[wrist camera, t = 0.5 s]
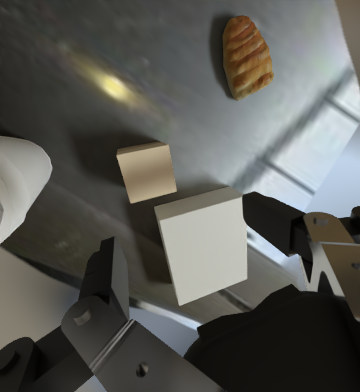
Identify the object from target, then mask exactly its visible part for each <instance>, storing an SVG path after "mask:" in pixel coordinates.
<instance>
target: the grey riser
mask: <svg viewBox="0 0 360 392" xmlns="http://www.w3.org/2000/svg"><path fill="white" fill-rule="evenodd" d="M243 195H244V194H242V193H241V192H239V191H237V190H235V189H233V188H232V187H230V186H228V187H225V188H221V189H217V190H214V191H210V192H206V193H202V194H199V195H195V196H191V197H188V198H184V199H180V200H177V201H173V202H169V203H166V204H162V205H158V206H155V207H154V210H155V214H156V218H157V222H158V226H159V230H160V234H161V239H162V243H163V247H164V251H165V255H166V259H167V263H168V268H169V272H170V276H171V280H172V284H173V287H174V290H175V294H176V297H177V300H178V303H179V306H180V305H183V304H185V303H188V302H190V301H193V300H195V299H198V298H200V297H203V296H205V295H208V294H210V293H213V292H215V291H218V290H220V289H223V288H225V287H228V286H230V285H233V284H235V283H238V282H240V281H243V280H246V279H247V224H246V223H245V221H244V219H243V209H242V196H243Z"/></svg>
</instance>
